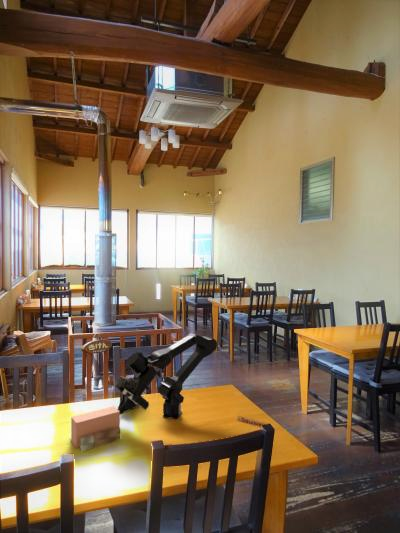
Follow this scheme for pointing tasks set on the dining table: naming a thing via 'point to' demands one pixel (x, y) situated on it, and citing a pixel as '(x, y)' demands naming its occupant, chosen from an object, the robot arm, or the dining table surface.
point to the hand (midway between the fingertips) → (117, 414)
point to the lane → (99, 438)
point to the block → (93, 423)
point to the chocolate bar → (250, 421)
